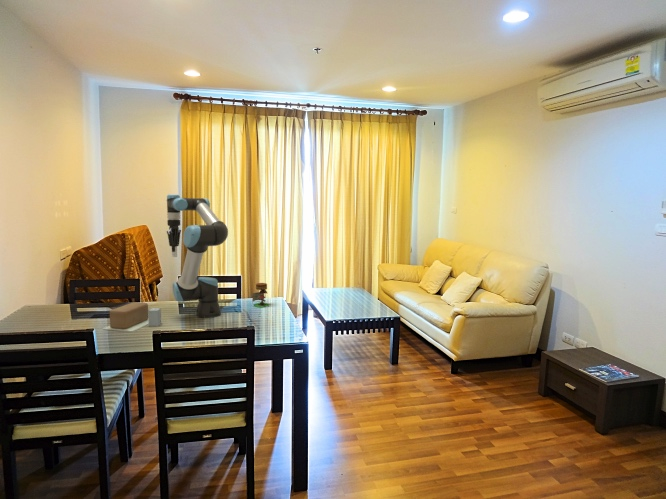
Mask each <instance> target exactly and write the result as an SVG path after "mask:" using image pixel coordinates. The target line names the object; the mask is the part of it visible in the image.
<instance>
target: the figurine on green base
mask: <svg viewBox="0 0 666 499" xmlns="http://www.w3.org/2000/svg"><path fill="white" fill-rule="evenodd" d="M255 289H256V290H257V292H253V293H252V303H254V302H255V301H259V302H257V303H254V304H253V305H254V306H255V308H267V307H266V306H268V307H270V303H267V302H266V300H265V299H266V296H265V294H268V291H267V290H268V284H267V283H266V282H265V283H264V282H257V283H256V284H255ZM258 291H259V292H258ZM254 306H253V307H254Z"/></svg>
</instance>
